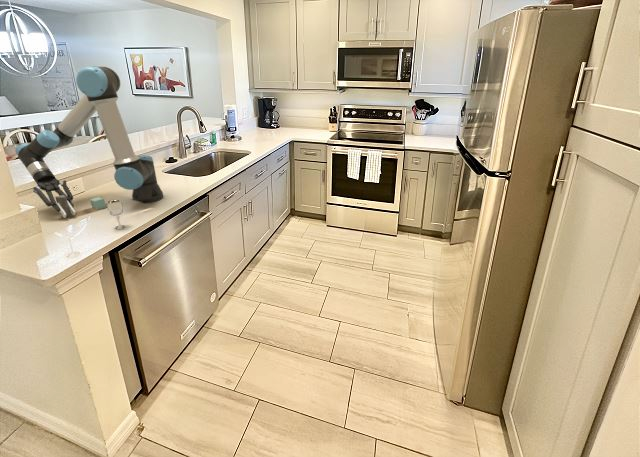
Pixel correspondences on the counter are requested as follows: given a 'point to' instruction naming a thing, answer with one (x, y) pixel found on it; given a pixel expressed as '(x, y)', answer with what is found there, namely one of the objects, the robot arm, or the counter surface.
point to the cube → (98, 203)
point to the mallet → (65, 206)
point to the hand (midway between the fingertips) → (69, 214)
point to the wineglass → (115, 210)
